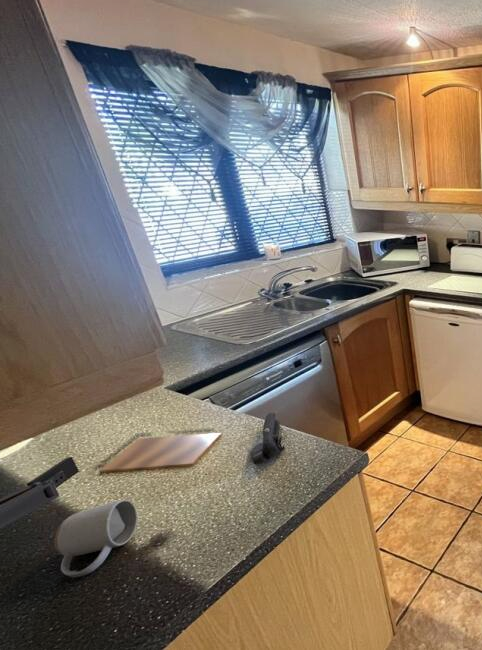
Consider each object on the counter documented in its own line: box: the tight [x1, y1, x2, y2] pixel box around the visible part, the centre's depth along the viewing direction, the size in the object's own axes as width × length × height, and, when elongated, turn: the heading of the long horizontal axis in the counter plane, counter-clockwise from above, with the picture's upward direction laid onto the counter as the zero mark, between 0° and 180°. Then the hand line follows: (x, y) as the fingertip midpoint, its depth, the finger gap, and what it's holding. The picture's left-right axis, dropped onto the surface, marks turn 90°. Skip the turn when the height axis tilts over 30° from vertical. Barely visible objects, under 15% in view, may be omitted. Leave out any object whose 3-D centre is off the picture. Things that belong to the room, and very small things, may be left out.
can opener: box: [251, 412, 286, 465], centre depth 94 cm, size 18×7×6 cm, turn 26°
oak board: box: [98, 432, 223, 473], centre depth 92 cm, size 20×11×1 cm, turn 95°
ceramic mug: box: [54, 499, 138, 578], centre depth 67 cm, size 11×8×8 cm
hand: (19, 478), depth 59 cm, fingers open, 13 cm apart
